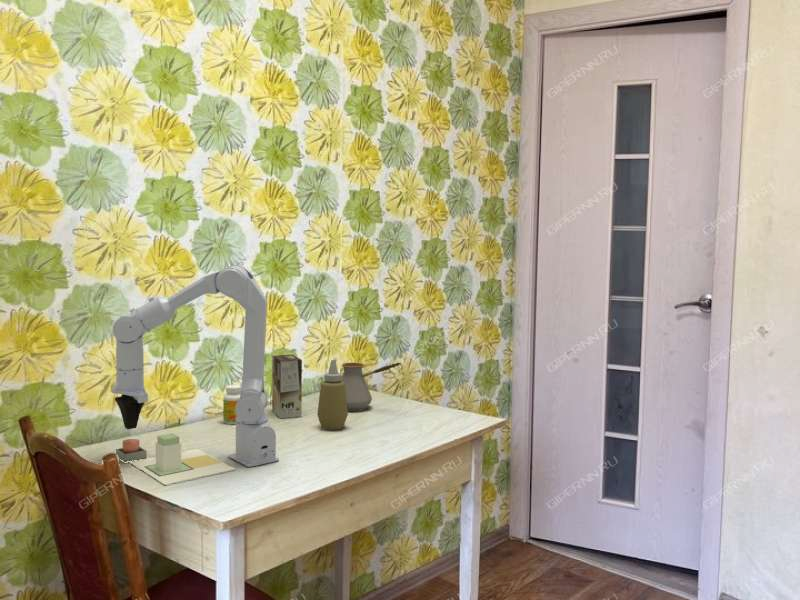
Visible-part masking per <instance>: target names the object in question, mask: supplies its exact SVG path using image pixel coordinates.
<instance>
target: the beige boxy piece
mask: <svg viewBox="0 0 800 600" xmlns="http://www.w3.org/2000/svg"><path fill="white" fill-rule="evenodd" d="M156 438H157V439H156V441H157V442H155V457H156V468H158V469H159V470H161V471H162V472H167V471H172V470H177V469H181V452H182V443H180V436H178V435H176V434H175V433H166V434H161V435H157V437H156Z"/></svg>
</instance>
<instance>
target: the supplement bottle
mask: <svg viewBox="0 0 800 600" xmlns="http://www.w3.org/2000/svg"><path fill="white" fill-rule="evenodd" d="M225 392H226V393H225V394H224V395H223V399H222V400H223V410H222V411H223V415H222V416H223V418H222V420H223V423H224V424H227V425H236V417H237V415H236V412H235V407H236V404H237V402H238V400H239V398H240V393H241V385H239V384H228V385H226V387H225Z"/></svg>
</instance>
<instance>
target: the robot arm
mask: <svg viewBox="0 0 800 600" xmlns="http://www.w3.org/2000/svg"><path fill="white" fill-rule="evenodd" d="M218 293H221V294H222V295H224V296H226V297H228V298H231V299H232V300H234V301H236V302H237V304H239V305H240V306H241V307H242V308H243V309H244V310H245V312H244V313H245V316H244V318H245V319H244V339H243V359H242V379H241V385H240V386H241V392H240V398H239V400H238V402H237V404H236V407H235V412H236V415H237V417H236V424H235V453H229V454H228V455H227V457H228V458H230V459H232V460H234V461H235V462H237V463H240V464H242V465H244V466H246V467H249V468H251V467H256V466H260V465H265V464H269V463H273V462H277V461H278V462H279V461H280V458H279V457H278V456H277V457H276V455H277V454H276V453H277V451H276V447H277V442H276V441H277V434H276V431H275V430H274V428H273V427H271V426H270V424H269V416H268V415H267V414H266V412H265V409H266V407H267V405H268V402H269V401H268V400H269V399H268V395H267V393H266V390H265V379H264V375H265V374H264V373H265V358H266V357H265V353H266V334H267V333H266V332H267V318H268V315H267V314H268V313H267V312H268V300H267V298H266V296H265V294H264V292H263V291H262V289H261V287H260V285H259V284H258V282H257V281H256V278H255V275H254V274H253V273H252V272H250V271H249V270H248V269H247V268H245V267H244V266H242V265H239V264H232V265H229V266H227V267H225V268H222V269H220V270H218V271H215V272H212V273H210V274H206V275H204V276H203V277H200V278H199V279H197V280H196V281H194V282H192V283H191V284H188V285H187V286H186V287H184V288H182V289H181V290H179V291H177V292H175V293H174V294H172V295H170V296H169V297H166V296H163V295H158V296H157V297H156V296H155V295H153V296H150V298H147V299H148V301H147V302H146V303H144V304H143V305H141V306H139V307H136V308H135V307H134V308H131V309H130V310H129V313H127V314H124V315H122V316H121V315H120V317H119V318H118V319H117V320H115V322H114V323H113V325H112V334H113V335H114V336H113V337H115V339H116V343H115V344H116V347H115V360H116V361H115V363H116V364H115V367H116V368H115V369H116V382H113V388H112V389H111V390H110V391H111V393H112V394H119V395H120V396H117V397H114V401H115V403H116V404H117V406H118V408H119V411H120V414H121V418H122V421H123V425H124V428H125V429H126V430H132V429H136V428H137V426H138V423H139V420H140V415H141V412H142V409H143V407H144V405H145V403H149V393H148V392H147V391H146V388H145V386H144V385H145V383H144V382H145V381H144V378H145V377H144V374H145V373H144V370H145V369H144V364H145V363H144V341H143V339H144V335H145V334H146V333H149V332H151V331H153V330H154V329H156V328H158V327H159V326H161V325H163V324H165V323H167V322H169V321H170V320H172V319H174V316H175V314H176V311H177V309H180V308H181V307H183V306H184V305H187V304H189V303H190V302H192V301H194V300H196V299H198V298H200V297H201V296H204V295H205V294H208V295H211V294H212V295H217V294H218Z"/></svg>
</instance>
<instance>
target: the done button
mask: <svg viewBox="0 0 800 600" xmlns="http://www.w3.org/2000/svg"><path fill="white" fill-rule="evenodd" d="M140 444H141V443H140V439H138V438H128V439H124V440H122V448H123V453H124V454H129V453H134V452H139V451H140V447H141V446H140Z"/></svg>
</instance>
